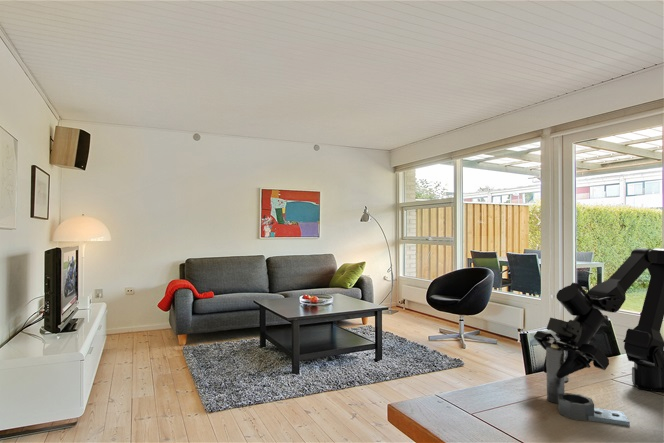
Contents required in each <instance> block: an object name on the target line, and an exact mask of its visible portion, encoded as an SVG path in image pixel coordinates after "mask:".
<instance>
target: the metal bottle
mask: <svg viewBox="0 0 664 443" xmlns="http://www.w3.org/2000/svg"><path fill="white" fill-rule="evenodd" d="M564 352H565V350H564V349H563V348H560V347H559V345H554V344H553V345H551V346H549V347H546V350H545V357H546V370H547V373H546V400H547V401H548V402H551V403H554V404H558V394H563V393H566V392H565V382H564V377H563V378H561V379H559V378H558V377H557V373H558V371H559V370H560V368H561V366H562V365H563V363H564V359H565V358H564Z"/></svg>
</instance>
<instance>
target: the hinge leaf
mask: <svg viewBox="0 0 664 443" xmlns="http://www.w3.org/2000/svg"><path fill="white" fill-rule="evenodd" d="M557 409H558V410H557V411H558V413H559V415H561V416H564V417H566V418H568V419H570V420H575V421H581V420H582V422H588V421H590V422H596V423H597V422H598V423H605V424H609V425H611V424H612V425H618V426H625V427H630V420H629V419H628V417H627V415H625V413H624V411H622V410H621V411H619V410H613V409H604V408H598V407H597V408H596V407H595V403H594V400H593V399H592V398H590V397H588V396H585V395H582V394H579V393H572V392H570V393H569V392H565V393H563V394H558V403H557Z"/></svg>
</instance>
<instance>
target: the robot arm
mask: <svg viewBox="0 0 664 443" xmlns="http://www.w3.org/2000/svg"><path fill="white" fill-rule="evenodd" d="M646 270H647V271H648V274H649V276H650V278H649V281H648V285H647V290H646V293H645V297H644V300H643V305H642V308H641V312H640V316H639V319H638V323H637V325H636V326H635V327H634V328H628V329H627V330H626V333H625V338H624V339H623V341H622V342H623V343H624V344H623V348H624V351H625V354H626V358H627V360H628V361H629V362H633V366H632V367H631V382H632V383H633V384H634V385H635V386H636V388H637V389H639V390H643V391H652V392H659V393H664V338H663V336H662V334H661V328H662V325H663V320H664V247H662V248H660V247H659V248H658V247H656V248H653V249H652V248H635V249H633V250H632V251H631V252H630V255H629V256H628V257H627V259H626V260H624V262H623V263H622V264H621V265H620V266H619V267H618V268H617V269H616V270H615V271H614V273H612V274H611V276H610V277H609V278H608V279H607V280H604V281H602V282H599V283H596V284H595V285H594V286H593V287H591V288H590V289H589V290H588V291H585V290H584V288H583V286H582V285H581V284H580V283H578V282H572V283H571V284H570V285H567V286H564V287H563V288H561V289H559V290H558V291H557V293H556V296H555V297H556V300H557V301H558V303H560V304H561V305H562V306H563V307H564V309H565V310H566V312H568V313H569V315H571V316H575V317H574V319H569V320H567V321H565V320H562V319H557V318H554V317H549V320H548V323H547V326H546V330H548V331H551V332H553V333H555V337H556V338H558V339H559V340H557V339H556V338H555V337H554V335H553V334H552V333H551V332H548V331H543V330H537V331H536V333H535V334H533V338H534V339H535V341H537V343H538V344H539V345H540V346H541V347H542V348H543V350H545V351H546V347H549V346H551V345H553V344H554V345H559V347H560V348H563V349H564V352H565V351H566V352H567V355H566V359H565V362H564V363H563V365H562V366H561V368H560V370H559V371H558V373H557V377H558V378H559V379H561V378H563V377H565V376H567V375H568V376H570V375H571V374H573V373H576V372H578V371H580V370H581V371H582V370H583V369H587V368H588V369H590V368H591V367H592V366H591V365H590V364H591V362H592V364H593V366H594V368H597V369H600V370H603V371H606V370H607V368H608V367H609V365H610V360H609V358H608V357H607V354H605V353H604V352H603V351H602V349H601V348H600V347H599V346H596V345H592V344H593V343H595V342H596V339H597V338H595V335H596V333H597V332H598V331H599V329H600V328H601V326H604V327H611V324H610V321H609V317H608V315H606V314H605V315H604V314H603V313H602V312H607V313H617V312H618V311H620V309H621V307H622V305H624V303H625V301H626V299H627V298H626V297H627V296H626V293H627V291H628V290H629V289H630V288H631V286H633V284H634V283H635V282H636V281H637V280H638V279H639V278H640V276H641V275H642V274H643V273H644V272H645V271H646ZM590 343H592V344H590ZM543 362H544V363H543V367H542V372H544V373H545V374H547V370H546V356H545V357H544V361H543Z"/></svg>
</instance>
